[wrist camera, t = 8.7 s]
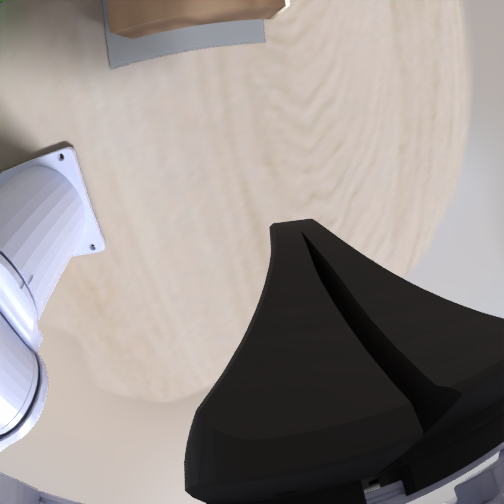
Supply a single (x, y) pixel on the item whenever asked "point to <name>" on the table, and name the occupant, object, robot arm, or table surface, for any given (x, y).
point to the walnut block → (184, 14)
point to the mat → (180, 39)
